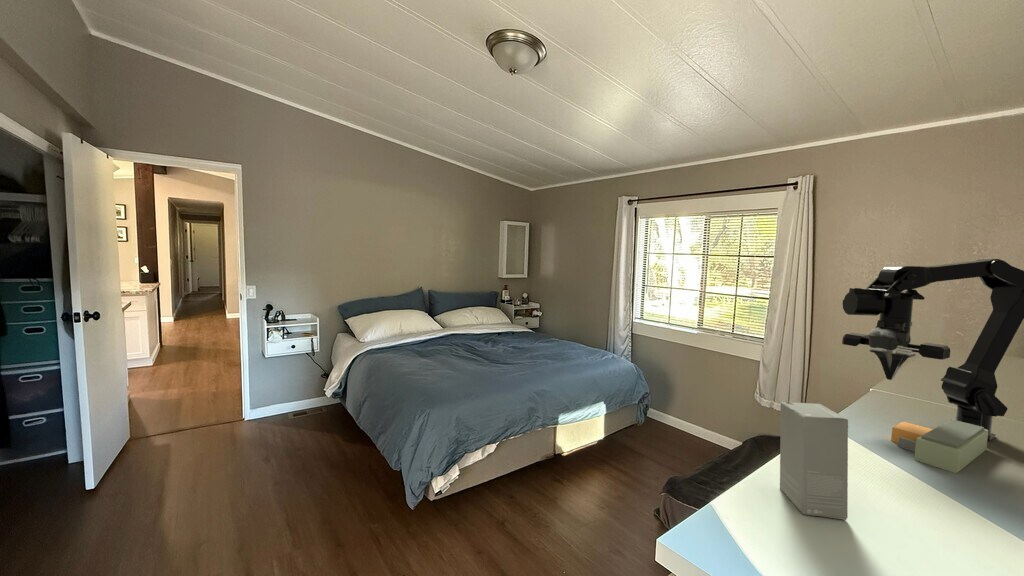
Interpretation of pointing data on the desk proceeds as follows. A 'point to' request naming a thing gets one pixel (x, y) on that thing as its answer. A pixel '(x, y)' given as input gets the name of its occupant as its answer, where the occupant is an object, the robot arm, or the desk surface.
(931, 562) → the desk surface
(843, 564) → the desk surface
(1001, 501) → the desk surface
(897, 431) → the amber cuboid
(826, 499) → the skincare box
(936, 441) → the sage green lidded box
